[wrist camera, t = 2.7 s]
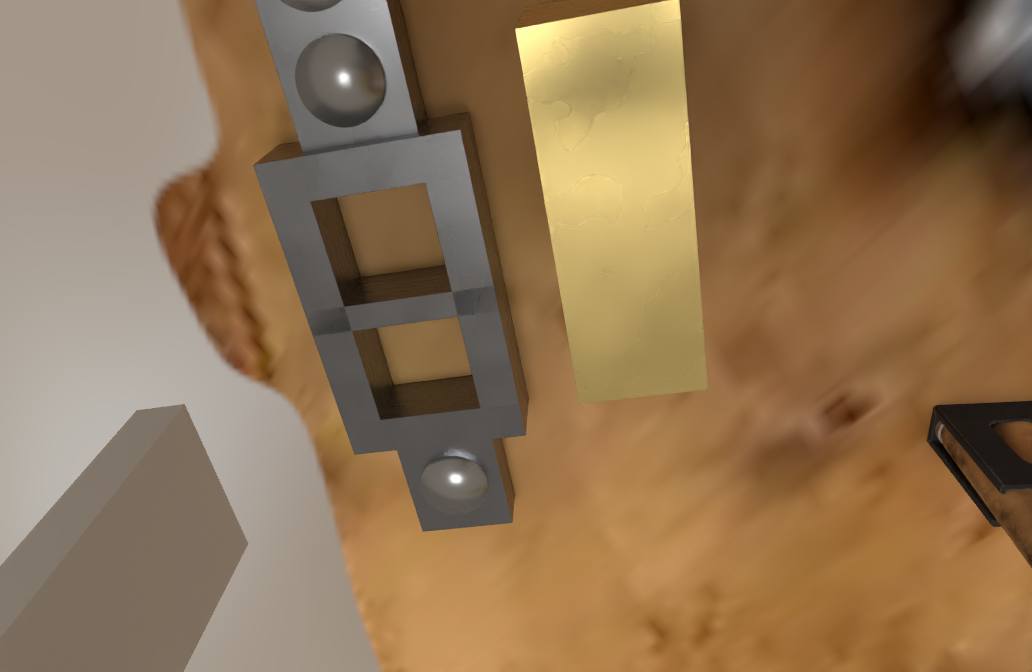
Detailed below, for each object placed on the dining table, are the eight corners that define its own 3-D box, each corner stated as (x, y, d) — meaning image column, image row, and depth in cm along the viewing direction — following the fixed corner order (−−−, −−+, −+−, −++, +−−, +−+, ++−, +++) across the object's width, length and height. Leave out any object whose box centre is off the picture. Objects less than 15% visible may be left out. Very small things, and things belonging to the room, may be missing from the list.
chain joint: (206, -74, 24) (169, -73, 22) (420, -121, 23) (405, -125, 21) (397, 506, 35) (386, 546, 33) (547, 491, 34) (546, 530, 32)
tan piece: (534, -15, 24) (514, 28, 15) (635, -34, 24) (679, -2, 15) (575, 246, 28) (579, 404, 19) (661, 234, 28) (707, 389, 19)
